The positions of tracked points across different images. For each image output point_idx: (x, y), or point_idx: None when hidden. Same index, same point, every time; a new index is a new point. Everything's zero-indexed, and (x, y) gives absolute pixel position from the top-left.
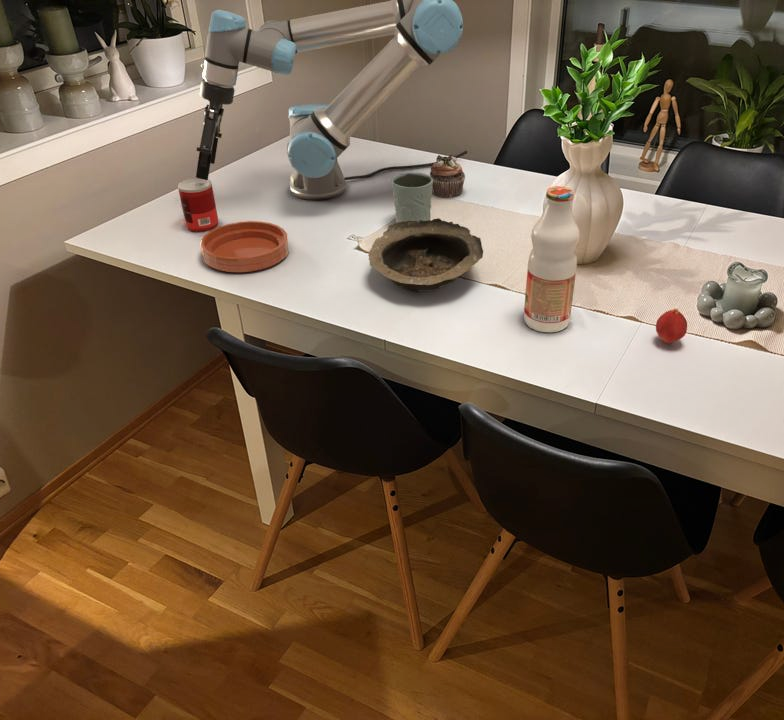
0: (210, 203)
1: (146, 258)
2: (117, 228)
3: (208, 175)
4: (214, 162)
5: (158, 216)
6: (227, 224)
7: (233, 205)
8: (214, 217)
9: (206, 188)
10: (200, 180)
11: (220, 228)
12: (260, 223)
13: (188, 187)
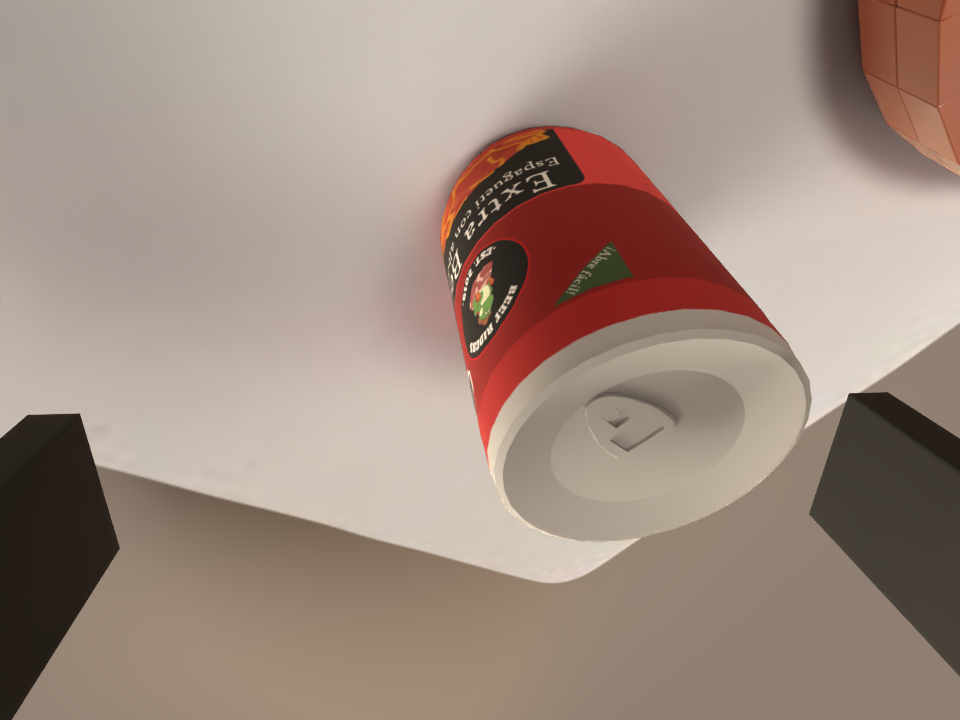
0: (698, 238)
1: None
2: (479, 530)
3: (894, 422)
4: (45, 425)
5: (368, 445)
6: (945, 35)
7: (143, 14)
8: (629, 164)
9: (780, 343)
10: (546, 429)
11: (958, 93)
12: None
13: (679, 473)
